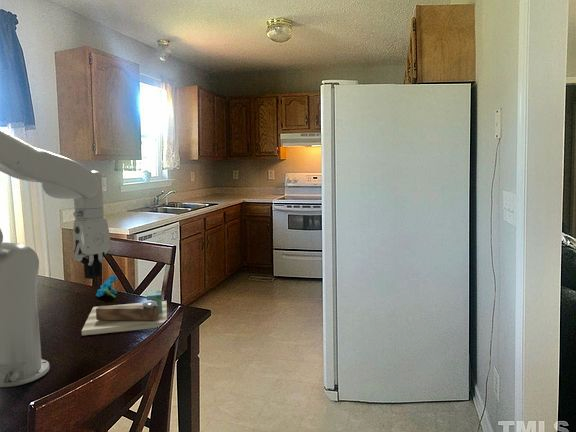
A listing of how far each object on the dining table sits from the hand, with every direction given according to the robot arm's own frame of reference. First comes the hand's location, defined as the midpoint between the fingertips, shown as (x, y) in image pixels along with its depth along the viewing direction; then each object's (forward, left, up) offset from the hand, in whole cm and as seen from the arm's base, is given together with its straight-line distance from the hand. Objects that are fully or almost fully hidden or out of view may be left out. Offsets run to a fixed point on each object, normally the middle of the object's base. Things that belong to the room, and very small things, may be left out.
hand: (93, 276), depth 127 cm
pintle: (+4, -15, -16) cm, 22 cm away
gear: (+40, +2, -17) cm, 43 cm away
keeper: (+12, -16, -16) cm, 25 cm away
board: (+11, -8, -17) cm, 22 cm away
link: (+5, -8, -15) cm, 18 cm away
